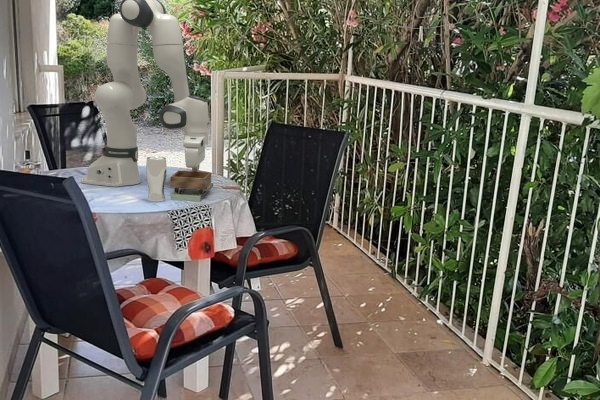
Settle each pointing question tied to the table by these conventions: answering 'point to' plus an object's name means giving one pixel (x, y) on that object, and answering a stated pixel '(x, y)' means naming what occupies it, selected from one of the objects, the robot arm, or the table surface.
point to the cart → (190, 180)
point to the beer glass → (156, 178)
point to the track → (190, 195)
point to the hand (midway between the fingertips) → (195, 175)
